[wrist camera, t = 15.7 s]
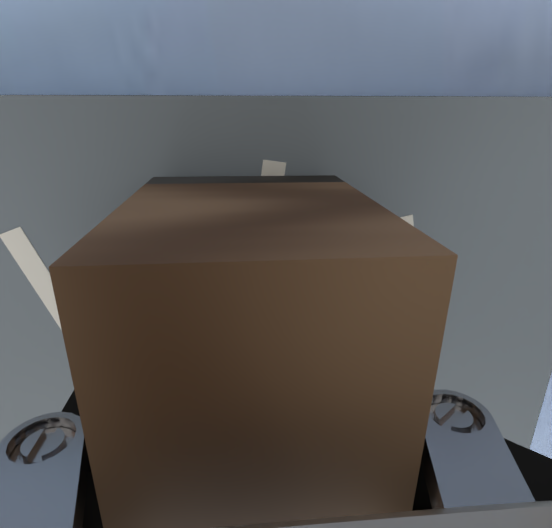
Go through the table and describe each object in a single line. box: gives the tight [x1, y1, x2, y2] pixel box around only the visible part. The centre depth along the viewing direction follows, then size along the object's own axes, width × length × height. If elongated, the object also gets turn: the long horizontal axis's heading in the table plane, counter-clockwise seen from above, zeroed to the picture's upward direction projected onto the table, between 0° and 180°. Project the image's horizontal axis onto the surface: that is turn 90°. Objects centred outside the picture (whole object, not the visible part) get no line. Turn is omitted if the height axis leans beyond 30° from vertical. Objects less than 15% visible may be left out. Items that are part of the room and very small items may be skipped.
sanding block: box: [49, 175, 458, 528], centre depth 9 cm, size 4×9×6 cm, turn 0°
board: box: [0, 95, 552, 449], centre depth 13 cm, size 22×13×2 cm, turn 90°
